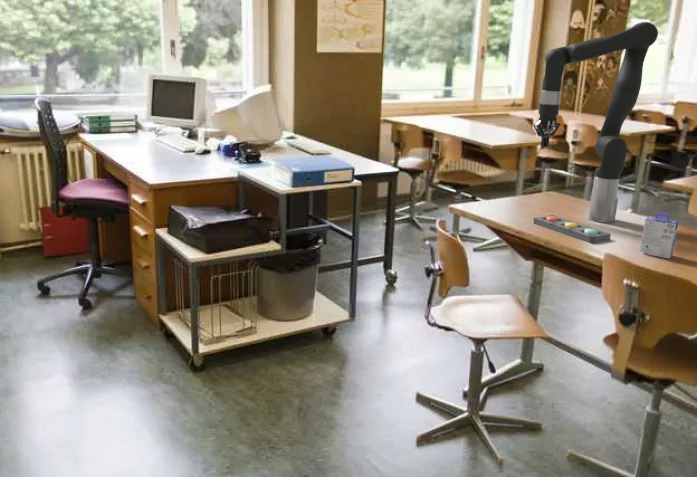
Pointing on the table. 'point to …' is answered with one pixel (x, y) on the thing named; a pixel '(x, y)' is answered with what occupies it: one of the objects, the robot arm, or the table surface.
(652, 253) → the ink cartridge box
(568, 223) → the ochre button
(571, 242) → the table surface
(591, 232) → the teal button
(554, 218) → the red button
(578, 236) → the button panel
